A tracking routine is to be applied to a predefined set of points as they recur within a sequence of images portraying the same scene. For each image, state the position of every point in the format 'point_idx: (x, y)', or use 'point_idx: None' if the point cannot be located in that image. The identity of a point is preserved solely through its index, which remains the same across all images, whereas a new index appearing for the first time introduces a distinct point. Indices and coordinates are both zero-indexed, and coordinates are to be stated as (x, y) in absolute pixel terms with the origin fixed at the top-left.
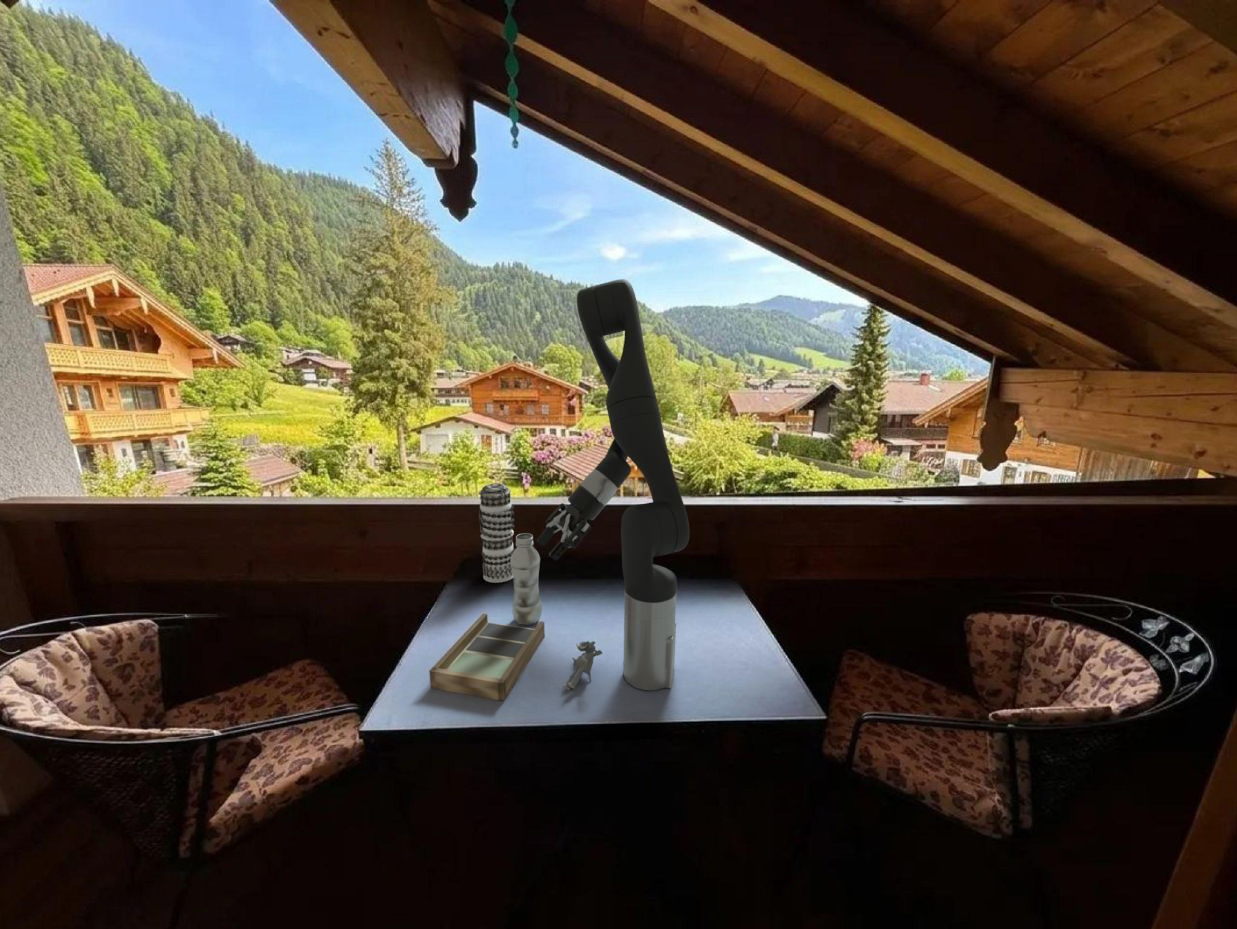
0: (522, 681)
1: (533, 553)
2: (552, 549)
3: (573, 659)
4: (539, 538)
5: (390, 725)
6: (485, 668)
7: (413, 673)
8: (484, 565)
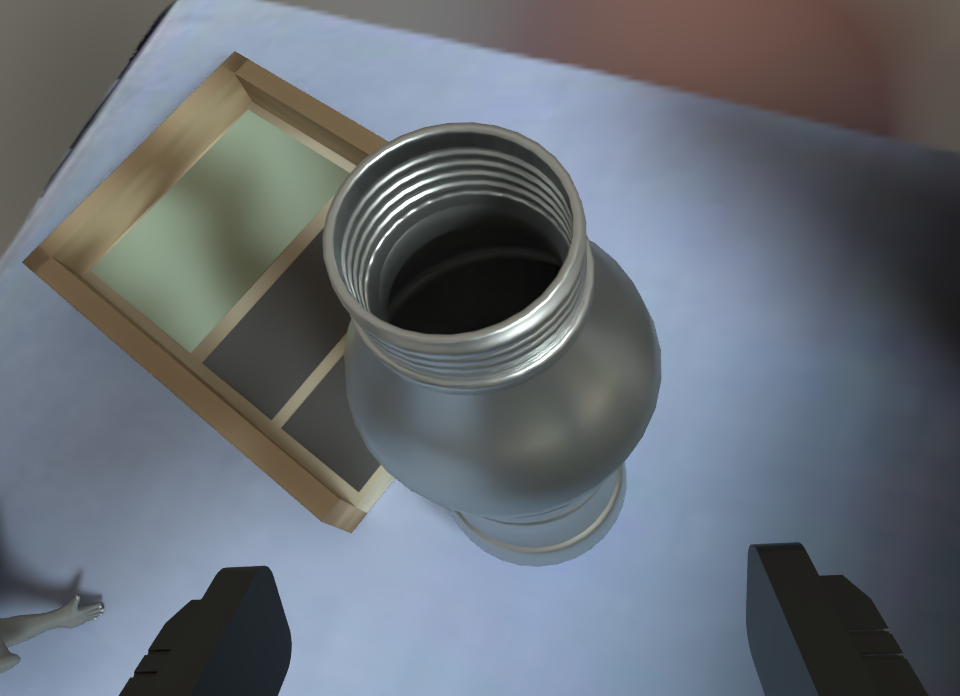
0: (125, 370)
1: (378, 399)
2: (228, 617)
3: (75, 598)
4: (768, 574)
5: (174, 23)
6: (212, 240)
7: (367, 51)
8: None
